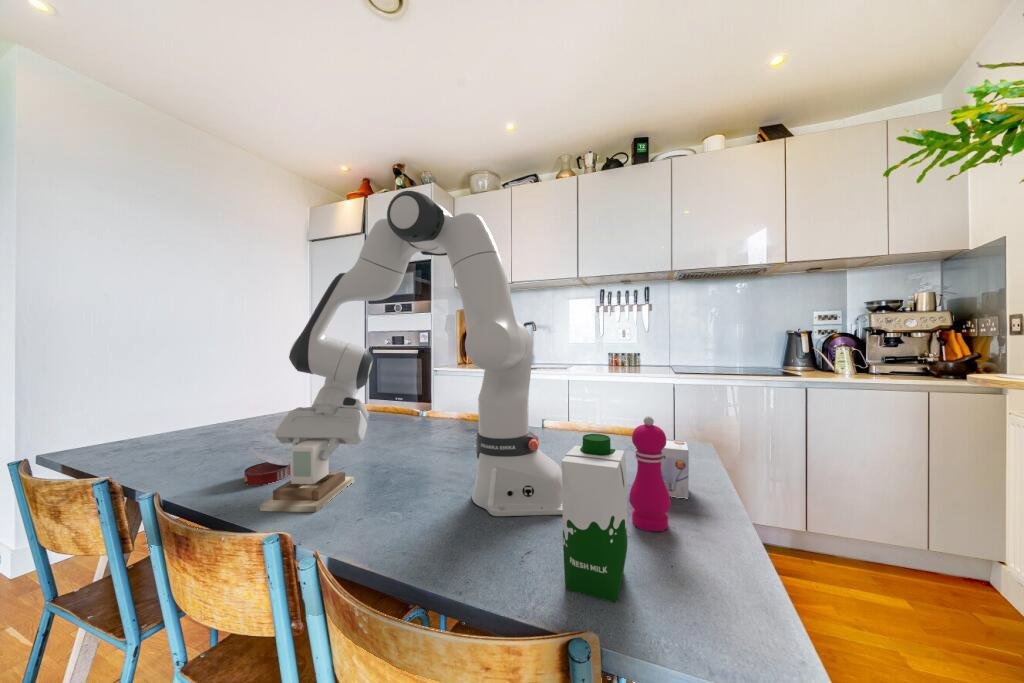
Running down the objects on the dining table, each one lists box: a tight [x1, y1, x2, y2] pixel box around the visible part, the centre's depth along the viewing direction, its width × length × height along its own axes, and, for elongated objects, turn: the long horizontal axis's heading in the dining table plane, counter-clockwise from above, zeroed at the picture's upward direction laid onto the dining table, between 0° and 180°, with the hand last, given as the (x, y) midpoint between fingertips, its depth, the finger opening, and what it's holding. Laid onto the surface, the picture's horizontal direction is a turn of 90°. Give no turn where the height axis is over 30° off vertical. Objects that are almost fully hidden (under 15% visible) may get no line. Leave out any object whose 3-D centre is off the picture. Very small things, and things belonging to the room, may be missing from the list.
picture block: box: [290, 440, 330, 484], centre depth 83 cm, size 5×6×8 cm
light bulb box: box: [661, 440, 690, 498], centre depth 83 cm, size 11×7×11 cm, turn 68°
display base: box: [259, 471, 355, 513], centre depth 83 cm, size 12×16×3 cm
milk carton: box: [561, 433, 628, 604], centre depth 53 cm, size 9×9×20 cm
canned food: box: [243, 446, 291, 486], centre depth 94 cm, size 11×10×10 cm
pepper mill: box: [628, 416, 672, 532], centre depth 69 cm, size 7×7×20 cm
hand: (308, 459), depth 83 cm, fingers closed on picture block, 5 cm apart
